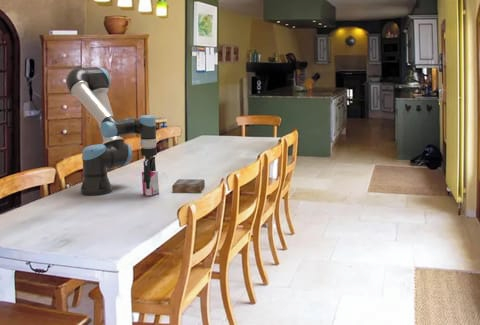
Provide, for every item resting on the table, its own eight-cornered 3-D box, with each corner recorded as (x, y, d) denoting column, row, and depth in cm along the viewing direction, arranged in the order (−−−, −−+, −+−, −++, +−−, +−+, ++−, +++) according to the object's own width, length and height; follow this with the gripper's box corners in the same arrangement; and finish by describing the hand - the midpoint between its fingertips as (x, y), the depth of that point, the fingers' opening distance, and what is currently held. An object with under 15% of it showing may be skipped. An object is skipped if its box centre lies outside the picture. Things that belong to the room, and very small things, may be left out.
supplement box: (151, 192, 288) (150, 170, 286) (159, 194, 284) (158, 171, 282) (142, 194, 284) (141, 171, 281) (150, 196, 280) (149, 173, 278)
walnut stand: (172, 192, 287) (172, 184, 286) (178, 186, 301) (177, 178, 300) (200, 192, 286) (200, 185, 285) (204, 186, 299) (204, 178, 299)
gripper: (151, 150, 269) (153, 198, 273) (161, 144, 289) (163, 188, 294) (135, 150, 270) (137, 198, 274) (146, 144, 290) (148, 188, 294)
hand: (150, 193), depth 284 cm, fingers closed on supplement box, 8 cm apart
